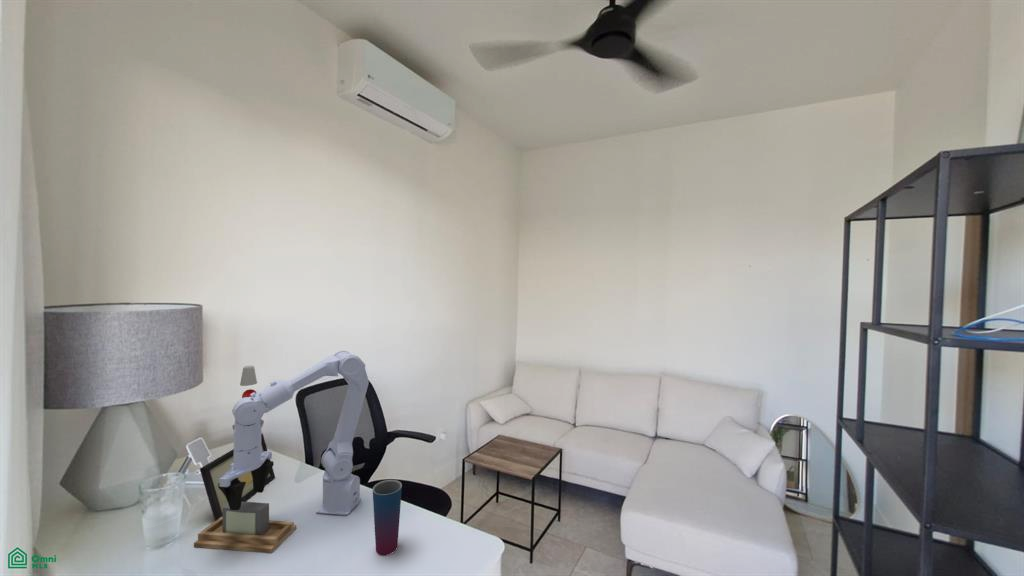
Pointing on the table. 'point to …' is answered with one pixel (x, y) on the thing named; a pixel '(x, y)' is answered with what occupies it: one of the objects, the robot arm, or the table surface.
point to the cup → (386, 515)
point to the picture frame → (218, 470)
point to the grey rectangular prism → (246, 519)
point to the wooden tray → (245, 537)
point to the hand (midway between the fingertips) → (247, 500)
